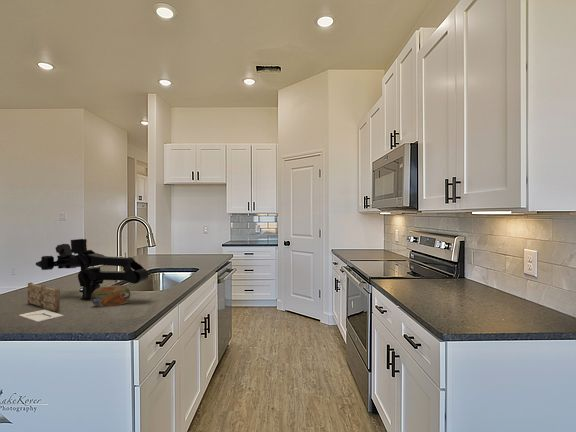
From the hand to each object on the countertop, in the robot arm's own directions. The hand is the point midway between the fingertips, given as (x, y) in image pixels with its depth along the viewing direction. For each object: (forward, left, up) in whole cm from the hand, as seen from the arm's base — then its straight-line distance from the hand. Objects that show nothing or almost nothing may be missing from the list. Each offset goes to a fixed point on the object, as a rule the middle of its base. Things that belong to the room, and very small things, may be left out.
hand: (44, 263), depth 164 cm
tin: (-41, +8, -15) cm, 45 cm away
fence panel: (-11, +16, -15) cm, 24 cm away
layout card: (-26, +28, -15) cm, 41 cm away
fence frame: (-22, +20, -15) cm, 33 cm away
